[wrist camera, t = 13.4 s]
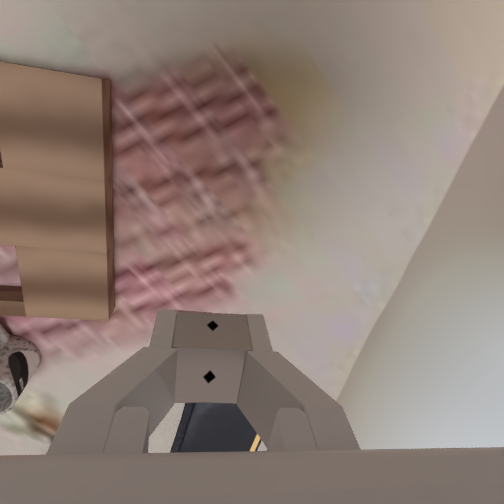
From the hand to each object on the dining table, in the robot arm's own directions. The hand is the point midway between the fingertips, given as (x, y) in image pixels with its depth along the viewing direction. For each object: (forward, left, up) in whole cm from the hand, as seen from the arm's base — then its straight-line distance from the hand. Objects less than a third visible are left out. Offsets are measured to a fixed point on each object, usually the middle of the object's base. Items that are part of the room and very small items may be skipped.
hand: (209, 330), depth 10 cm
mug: (+27, -23, -29) cm, 46 cm away
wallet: (+42, +7, -30) cm, 52 cm away
